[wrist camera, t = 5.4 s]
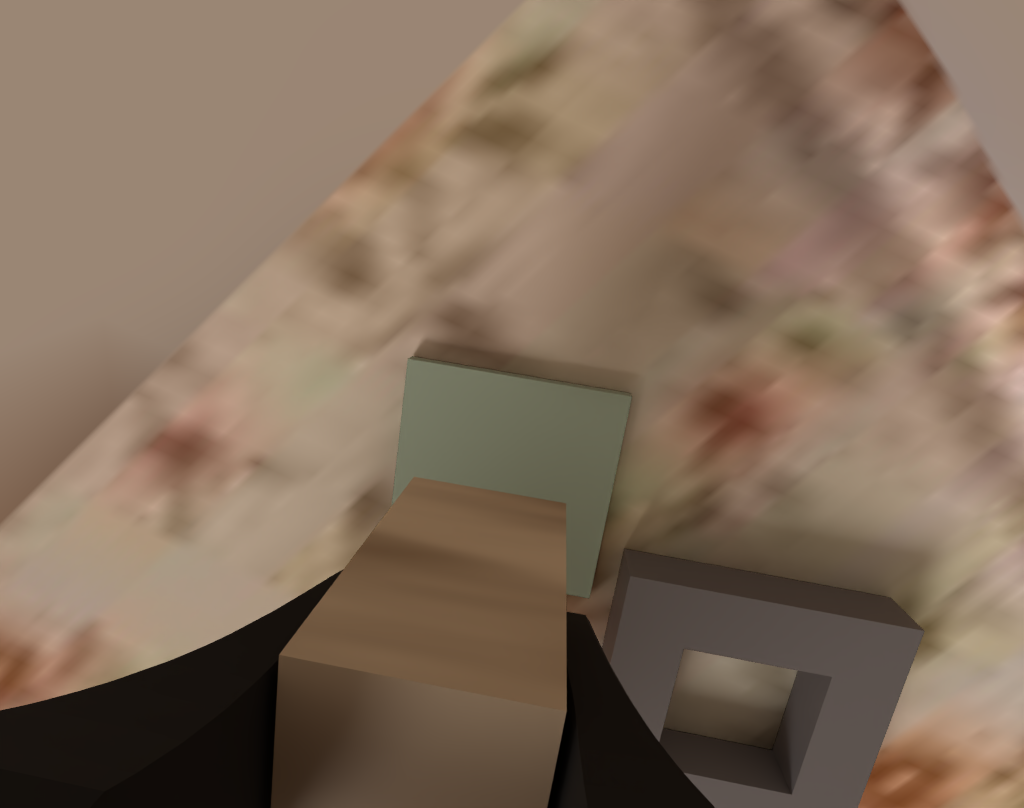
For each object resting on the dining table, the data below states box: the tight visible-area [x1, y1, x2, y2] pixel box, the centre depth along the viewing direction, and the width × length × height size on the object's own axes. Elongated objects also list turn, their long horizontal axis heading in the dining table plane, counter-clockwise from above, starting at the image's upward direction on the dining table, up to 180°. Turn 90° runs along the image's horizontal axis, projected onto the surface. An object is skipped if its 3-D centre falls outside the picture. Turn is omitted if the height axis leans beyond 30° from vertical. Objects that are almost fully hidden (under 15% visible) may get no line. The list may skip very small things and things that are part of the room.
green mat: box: [392, 356, 632, 598], centre depth 21 cm, size 8×8×1 cm
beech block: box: [271, 477, 567, 808], centre depth 11 cm, size 4×4×7 cm
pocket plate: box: [602, 549, 924, 808], centre depth 21 cm, size 10×10×2 cm
